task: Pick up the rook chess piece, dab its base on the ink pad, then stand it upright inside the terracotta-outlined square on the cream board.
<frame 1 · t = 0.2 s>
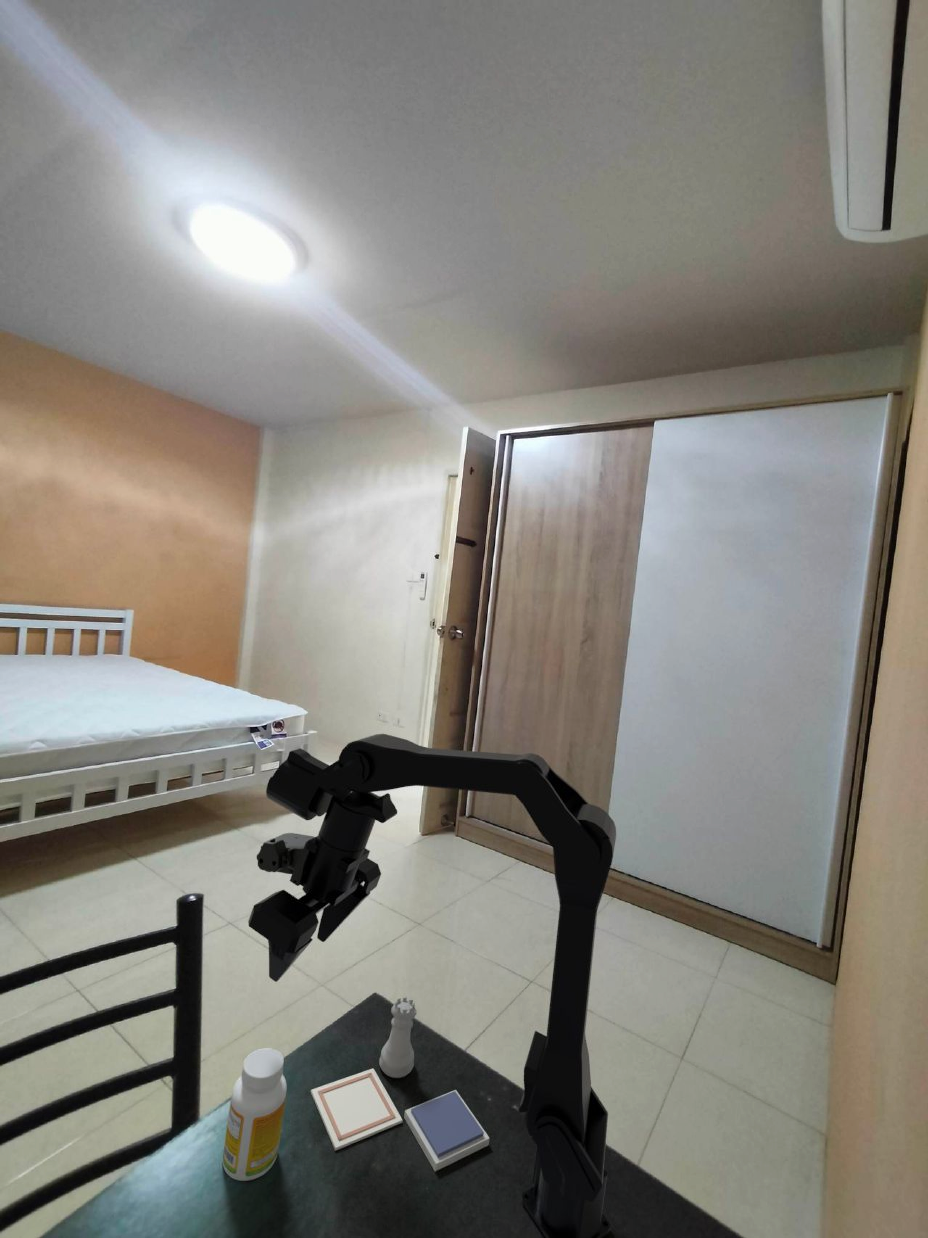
hand: (298, 958, 67), 15 cm above the table, tool pointing down, fingers open, 9 cm apart
ink pad: (445, 1131, 63), on the table
rook chess piece: (395, 1067, 72), on the table
marked square board: (355, 1107, 65), on the table
supplement bottle: (249, 1159, 57), on the table
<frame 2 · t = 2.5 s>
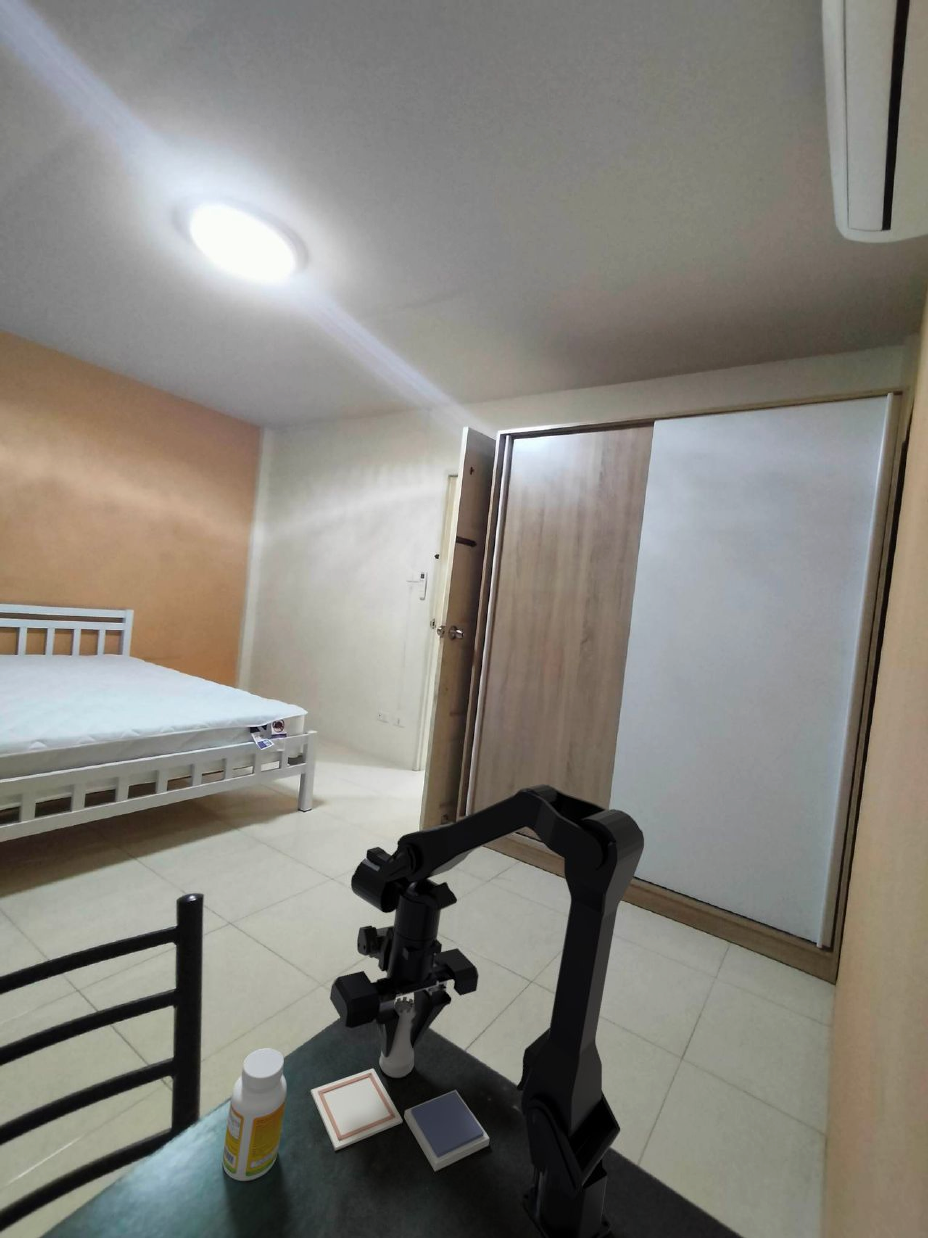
hand: (398, 1050, 72), 2 cm above the table, tool pointing down, fingers closed on rook chess piece, 3 cm apart
rook chess piece: (395, 1067, 72), on the table, touching gripper
everything else where it was.
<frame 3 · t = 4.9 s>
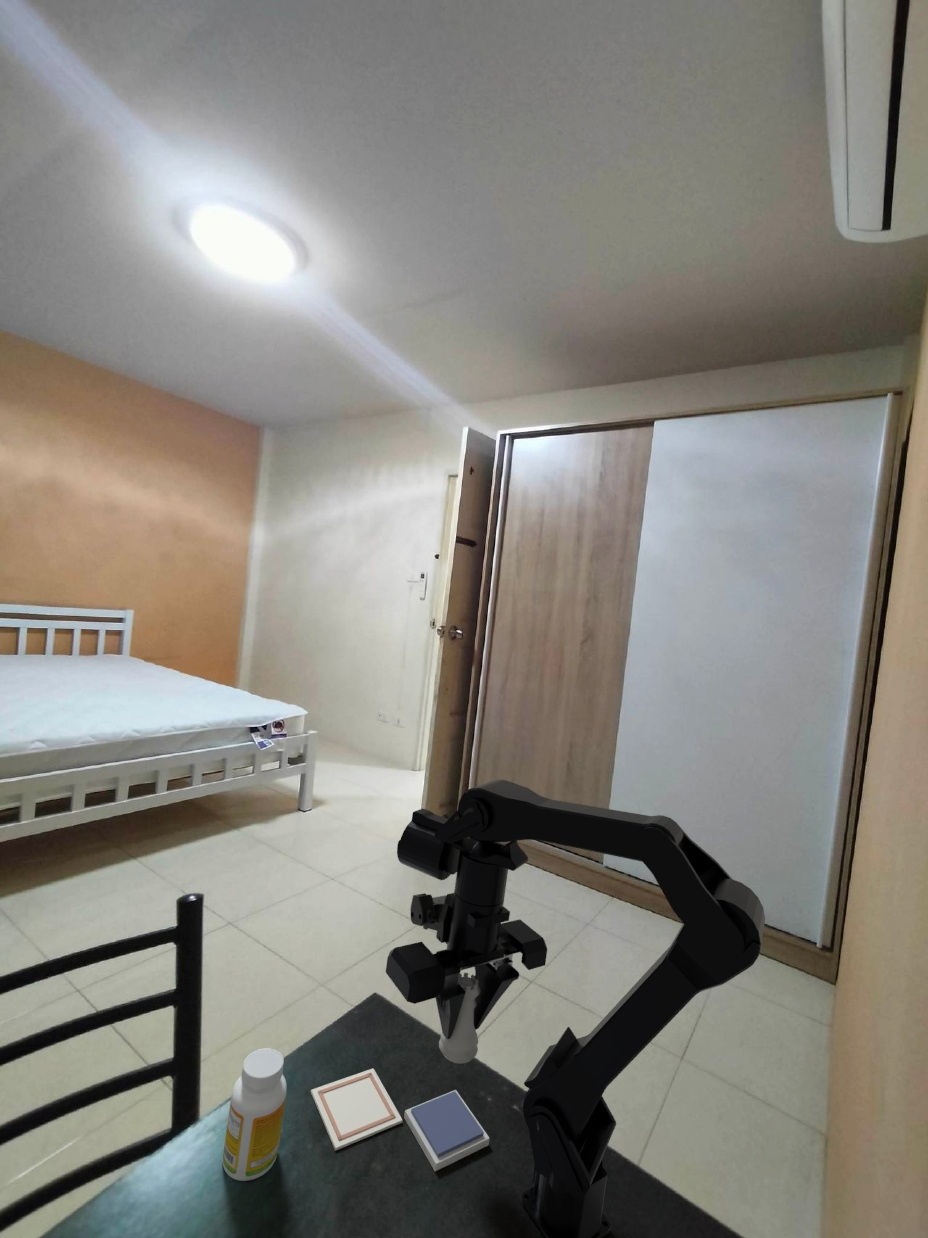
hand: (460, 1031, 64), 11 cm above the table, tool pointing down, fingers closed on rook chess piece, 3 cm apart
rook chess piece: (457, 1052, 64), point 9 cm above the table, touching gripper
everything else where it was.
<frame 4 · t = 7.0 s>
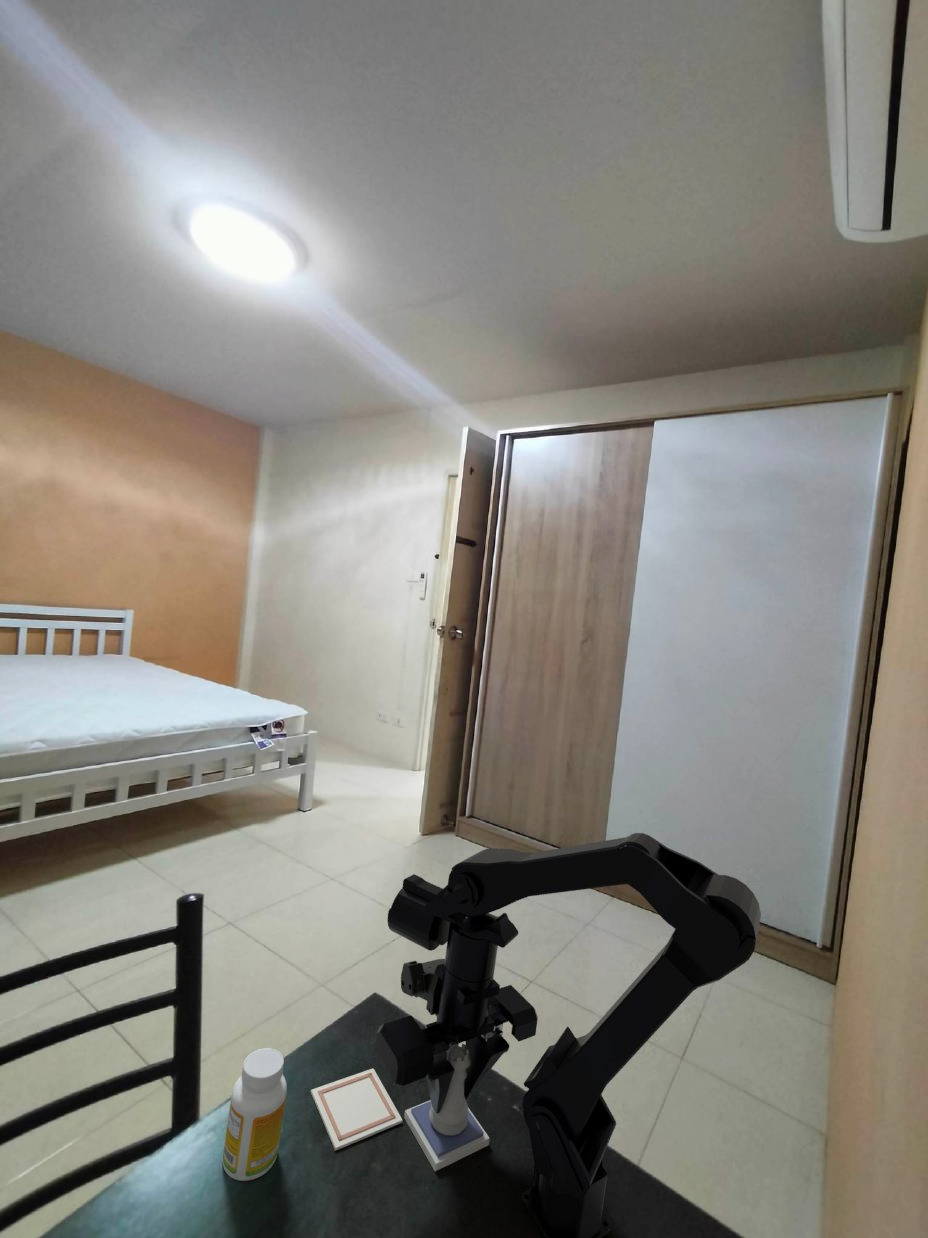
hand: (450, 1104, 63), 3 cm above the table, tool pointing down, fingers closed on rook chess piece, 3 cm apart
rook chess piece: (447, 1122, 63), point 1 cm above the table, touching gripper, ink pad
everything else where it was.
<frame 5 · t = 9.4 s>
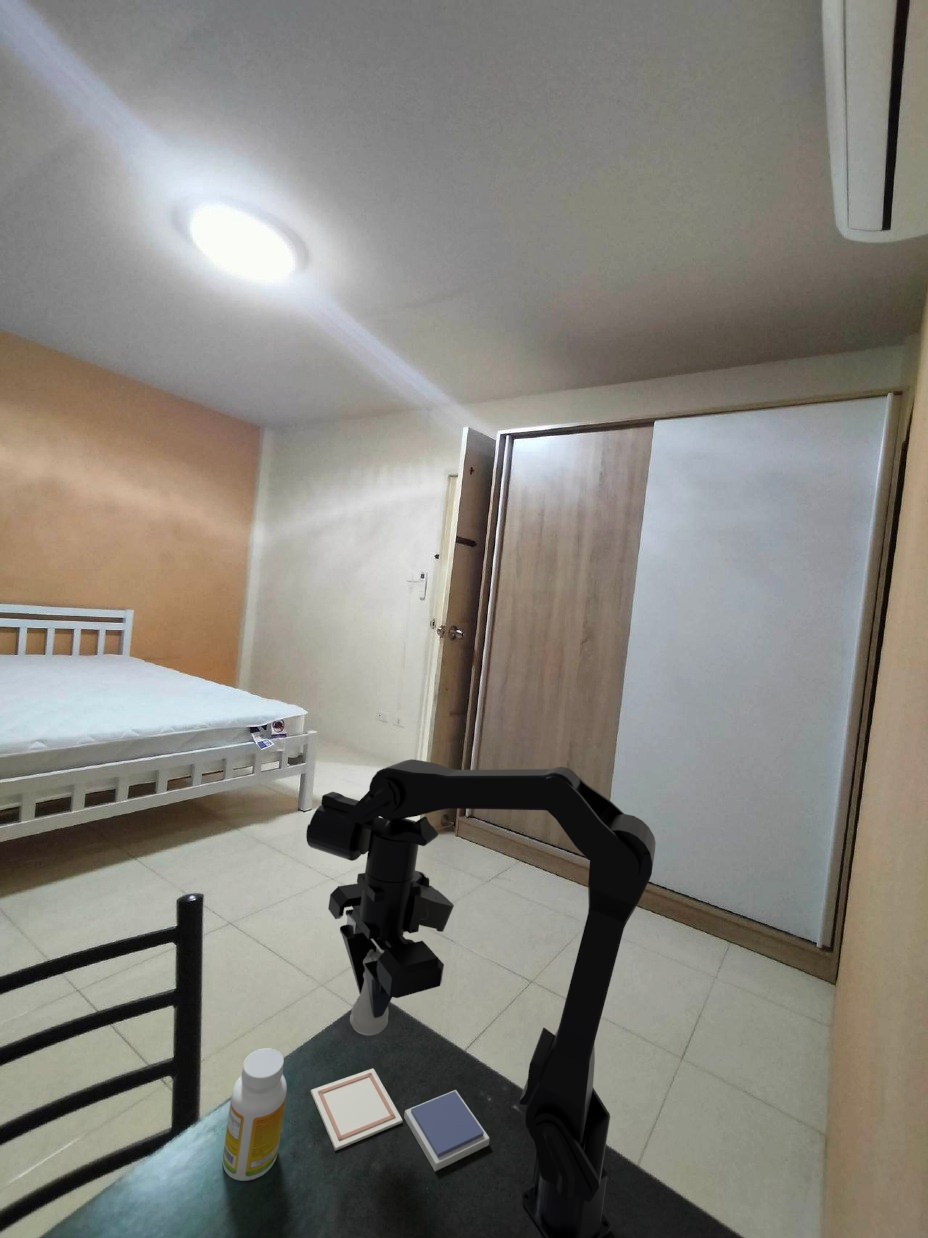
hand: (371, 1005, 65), 12 cm above the table, tool pointing down, fingers closed on rook chess piece, 3 cm apart
rook chess piece: (368, 1025, 65), point 10 cm above the table, touching gripper
everything else where it was.
when the fingers open (3 cm above the table, at t = 11.6 s): rook chess piece stays where it is, resting on marked square board.
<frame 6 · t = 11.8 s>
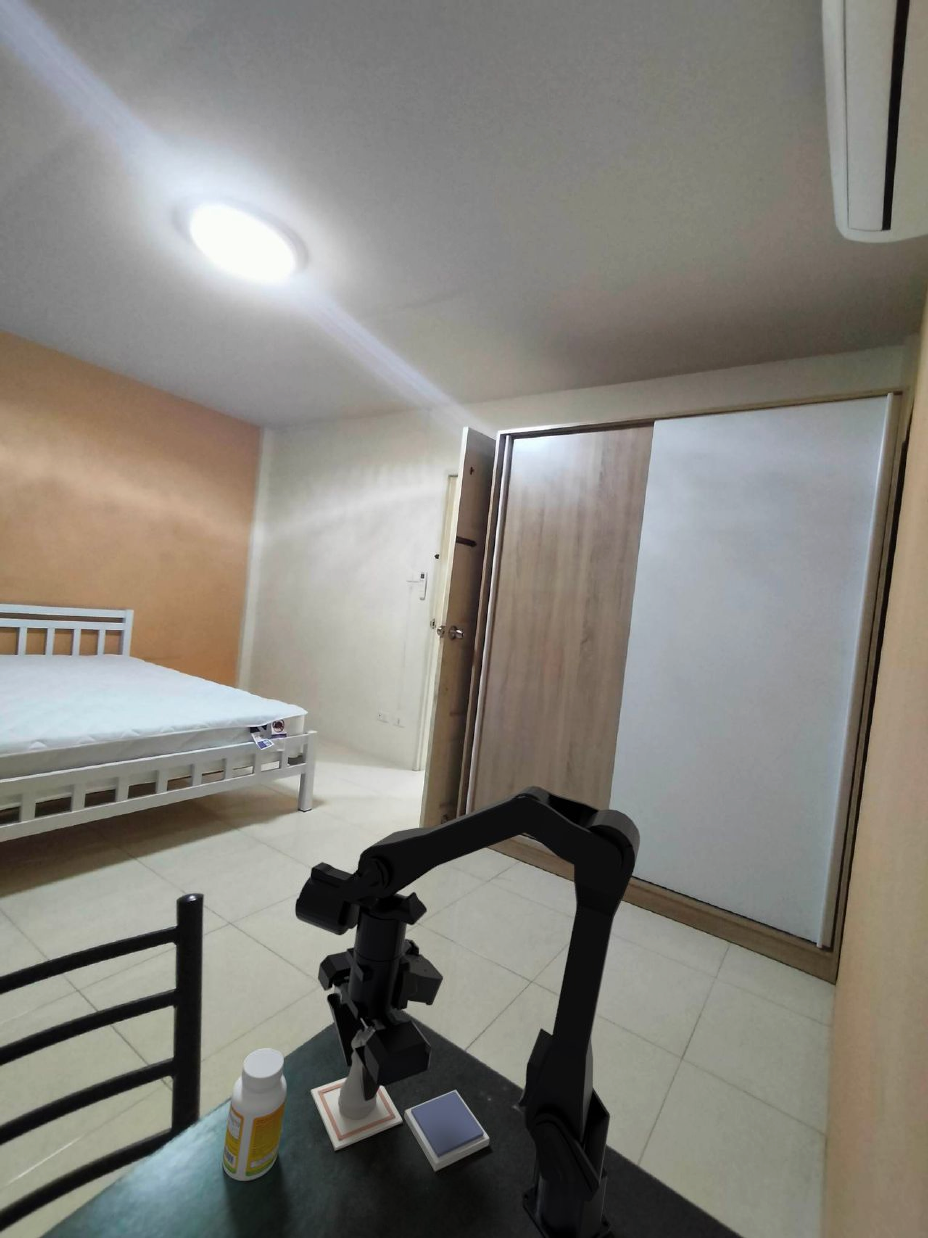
hand: (359, 1081, 65), 3 cm above the table, tool pointing down, fingers open, 5 cm apart
rook chess piece: (356, 1106, 65), resting on marked square board
everything else where it was.
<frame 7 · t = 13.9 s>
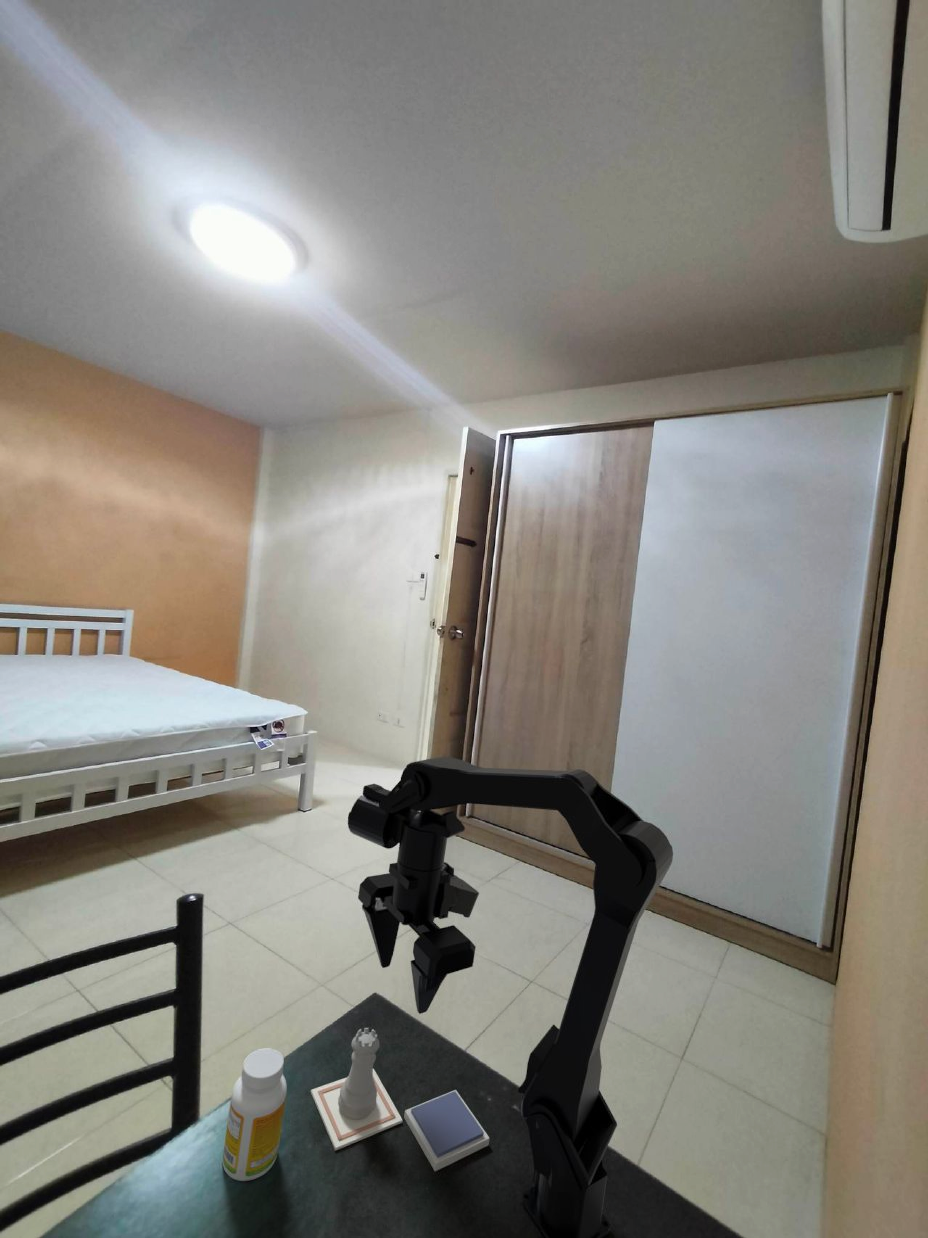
hand: (402, 988, 69), 12 cm above the table, tool pointing down, fingers open, 9 cm apart
nothing on the table moved.
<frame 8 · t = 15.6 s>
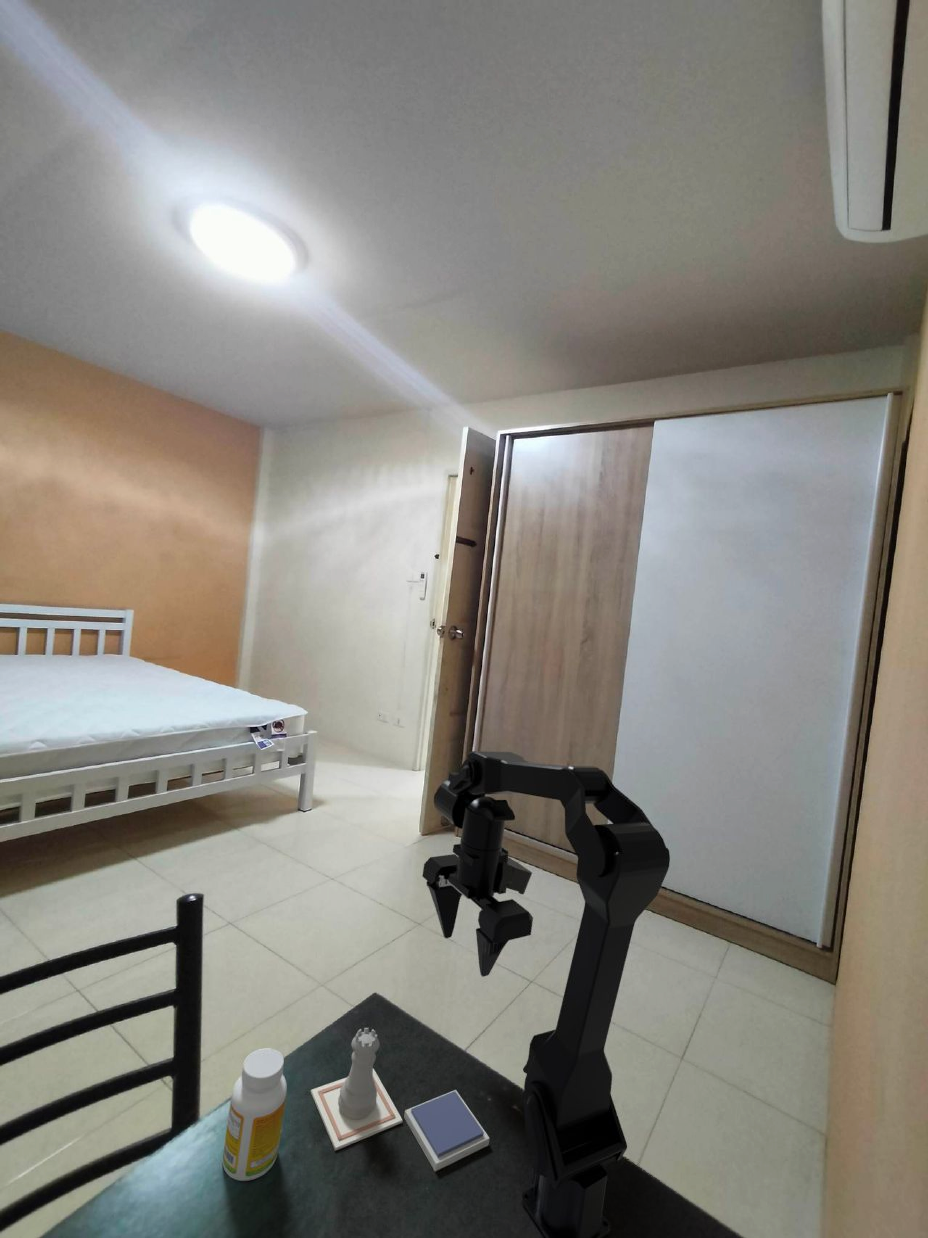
hand: (465, 955, 77), 12 cm above the table, tool pointing down, fingers open, 9 cm apart
nothing on the table moved.
at the end: rook chess piece 0.1 cm off-centre on the marked square board, point 0.1 cm above the marked square board's base; rook chess piece tilted 0°; the gripper is holding nothing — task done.
